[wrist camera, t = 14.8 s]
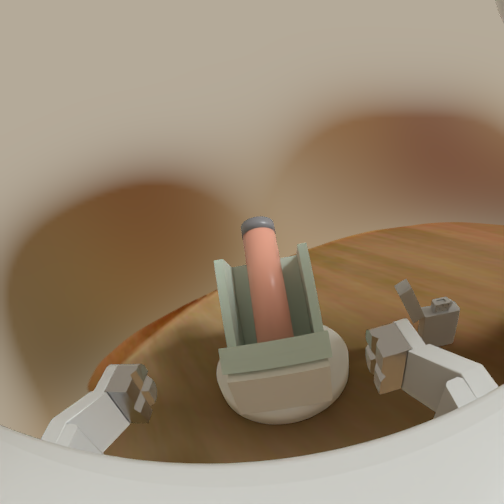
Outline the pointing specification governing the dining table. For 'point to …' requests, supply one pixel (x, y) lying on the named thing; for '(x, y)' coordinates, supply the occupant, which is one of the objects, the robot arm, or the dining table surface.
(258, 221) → the marker
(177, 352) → the dining table surface
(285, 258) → the green holder stand
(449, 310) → the lighter
